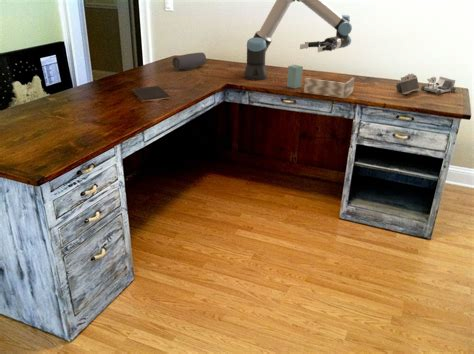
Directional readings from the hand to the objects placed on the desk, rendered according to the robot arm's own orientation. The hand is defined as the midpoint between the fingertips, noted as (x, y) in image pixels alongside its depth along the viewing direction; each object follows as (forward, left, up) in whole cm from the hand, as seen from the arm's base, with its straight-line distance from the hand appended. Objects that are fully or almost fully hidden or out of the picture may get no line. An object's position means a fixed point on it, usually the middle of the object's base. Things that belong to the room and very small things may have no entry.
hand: (309, 48), depth 257 cm
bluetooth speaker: (-77, -31, -21) cm, 86 cm away
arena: (+21, -5, -21) cm, 30 cm away
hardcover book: (-39, -86, -22) cm, 97 cm away
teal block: (0, -11, -21) cm, 24 cm away
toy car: (+60, +44, -22) cm, 78 cm away
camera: (+49, +29, -21) cm, 61 cm away
